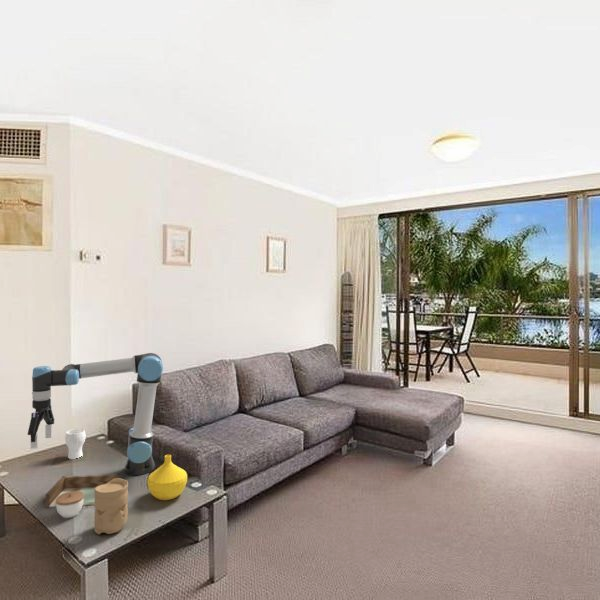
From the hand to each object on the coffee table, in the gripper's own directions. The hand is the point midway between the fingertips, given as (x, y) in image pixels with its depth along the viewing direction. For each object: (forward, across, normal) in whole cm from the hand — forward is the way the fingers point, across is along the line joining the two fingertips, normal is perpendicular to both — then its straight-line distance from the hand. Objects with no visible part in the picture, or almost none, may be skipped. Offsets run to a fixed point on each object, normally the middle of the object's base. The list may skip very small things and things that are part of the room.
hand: (41, 442), depth 201 cm
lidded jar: (+24, +21, +22) cm, 39 cm away
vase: (+24, +7, +60) cm, 66 cm away
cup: (+24, -43, -2) cm, 50 cm away
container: (+24, +33, +43) cm, 60 cm away
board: (+24, +5, +21) cm, 33 cm away
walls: (+24, +5, +21) cm, 33 cm away
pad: (+24, +6, +25) cm, 35 cm away
